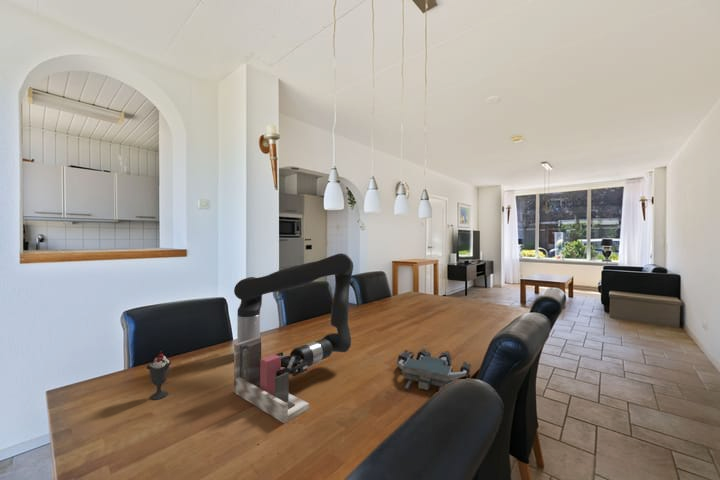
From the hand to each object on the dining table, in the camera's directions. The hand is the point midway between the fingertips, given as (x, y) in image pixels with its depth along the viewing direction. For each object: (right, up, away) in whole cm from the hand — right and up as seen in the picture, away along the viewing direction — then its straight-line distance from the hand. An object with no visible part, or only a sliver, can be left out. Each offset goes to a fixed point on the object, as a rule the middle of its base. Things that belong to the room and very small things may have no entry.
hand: (268, 371), depth 93 cm
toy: (+56, -11, +19) cm, 60 cm away
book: (0, -8, +1) cm, 8 cm away
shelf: (+1, -9, +1) cm, 10 cm away
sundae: (-36, -9, +3) cm, 37 cm away
